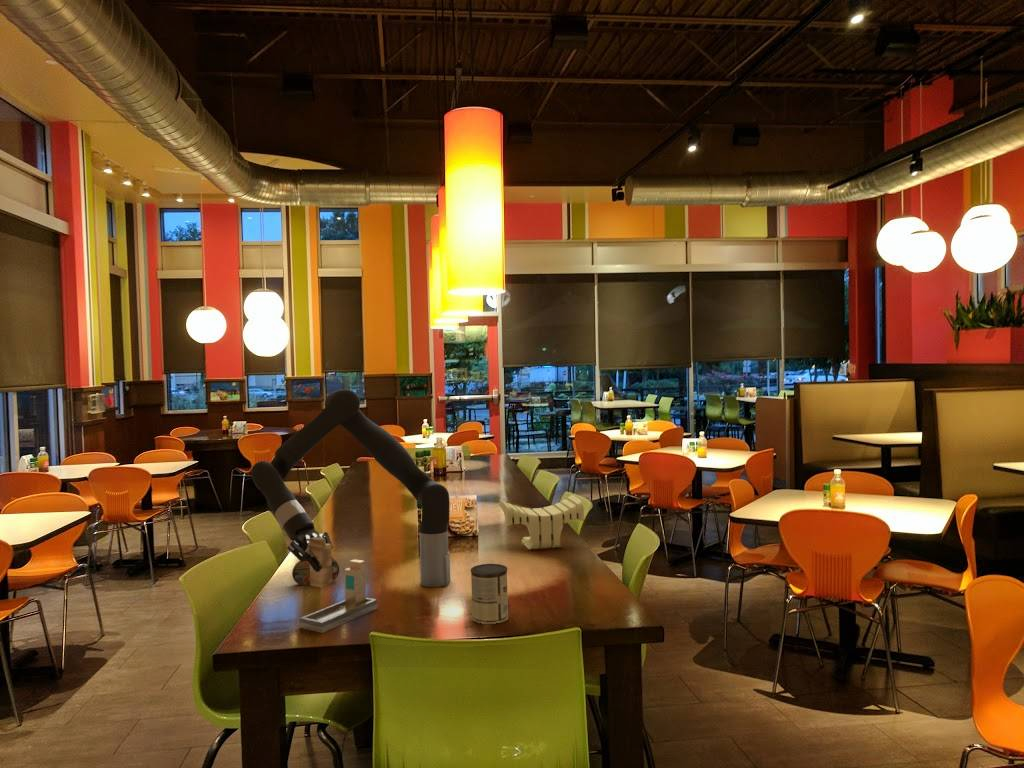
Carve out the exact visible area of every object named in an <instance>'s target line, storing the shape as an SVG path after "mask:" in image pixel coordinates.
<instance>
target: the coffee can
mask: <svg viewBox="0 0 1024 768" xmlns="http://www.w3.org/2000/svg"><path fill="white" fill-rule="evenodd" d="M470 575H471V576H470V577H471V578H470V579H471V581H470V582H471V583H470V584H471V607H472V608H471V609H472V613H471V614H472V617H471V620H472V621H473V622H474V621H475V622H474V623H476V622H477V624H480V623H481V625H496V623H498V624H502V623H504V622H506V621H508V619H509V604H508V603H509V600H508V567H507V565H503V564H499V563H483V564H482V563H481V564H478V565H475V566H473V567H471V568H470Z"/></svg>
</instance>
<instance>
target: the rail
mask: <svg viewBox="0 0 1024 768" xmlns="http://www.w3.org/2000/svg"><path fill="white" fill-rule="evenodd" d="M348 562H349V567H347V568H344V569H343V570H344V573H343V574H344V599H343V600H341V601H339V602H336V603H334V604H331V605H328V606H326V607H324V608H321V609H319V610H317V611H314V612H312V613H309V614H307V615H304V616H302V617H299V628H300V629H304V630H308V631H313V632H317V633H320V634H323V633H326V632H327V631H330V630H332V629H334V628H337V627H340V626H342V625H343V624H346V623H348V622H350V621H352V620H355V619H357V618H360V617H361V616H364V615H366V614H369V613H371V612H373V611H375V610H377V609H378V599H376V598H370V597H367V595H366V594H367V592H366V561H365V560H360V559H354V558H353V559H352V560H349V561H348Z"/></svg>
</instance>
